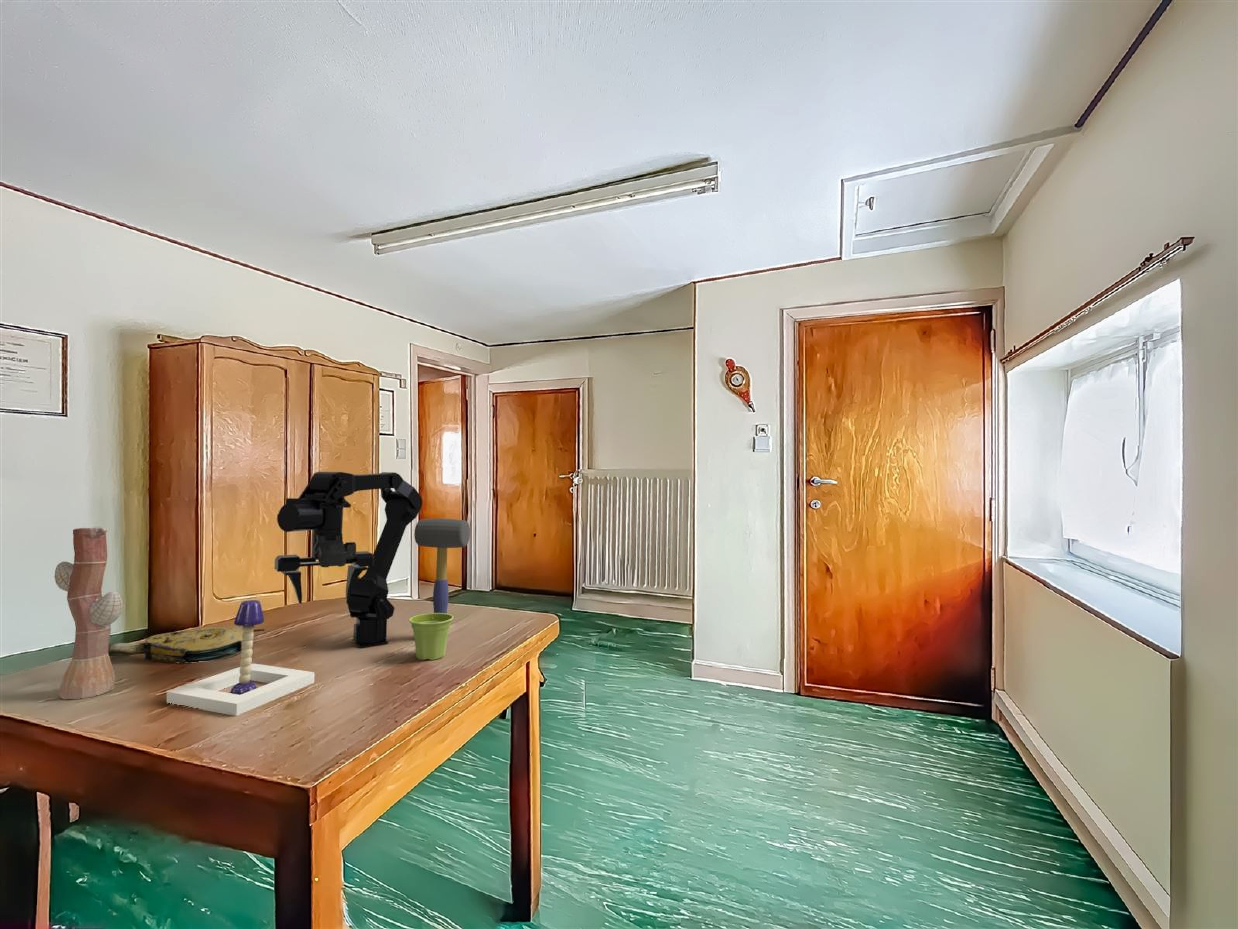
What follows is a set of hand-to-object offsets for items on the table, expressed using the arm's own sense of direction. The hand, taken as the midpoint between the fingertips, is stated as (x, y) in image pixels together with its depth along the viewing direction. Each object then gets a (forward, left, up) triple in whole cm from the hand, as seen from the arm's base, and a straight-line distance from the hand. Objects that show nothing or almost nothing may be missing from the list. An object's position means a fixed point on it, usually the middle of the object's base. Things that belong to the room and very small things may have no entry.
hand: (324, 600), depth 120 cm
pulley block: (+24, -22, -14) cm, 35 cm away
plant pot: (-20, +10, -13) cm, 26 cm away
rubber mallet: (-27, -3, -13) cm, 30 cm away
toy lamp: (+15, +11, -13) cm, 23 cm away
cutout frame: (+15, +11, -13) cm, 23 cm away
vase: (+38, -6, -13) cm, 41 cm away
